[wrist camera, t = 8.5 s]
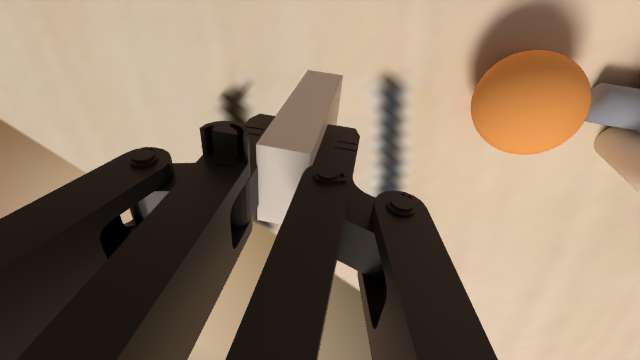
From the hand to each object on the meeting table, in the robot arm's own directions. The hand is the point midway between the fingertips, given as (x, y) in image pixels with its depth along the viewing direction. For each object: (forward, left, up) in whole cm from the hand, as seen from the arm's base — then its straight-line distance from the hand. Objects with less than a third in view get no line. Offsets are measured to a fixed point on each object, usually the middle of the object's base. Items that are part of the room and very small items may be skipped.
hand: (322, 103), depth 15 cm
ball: (+1, +11, -7) cm, 13 cm away
